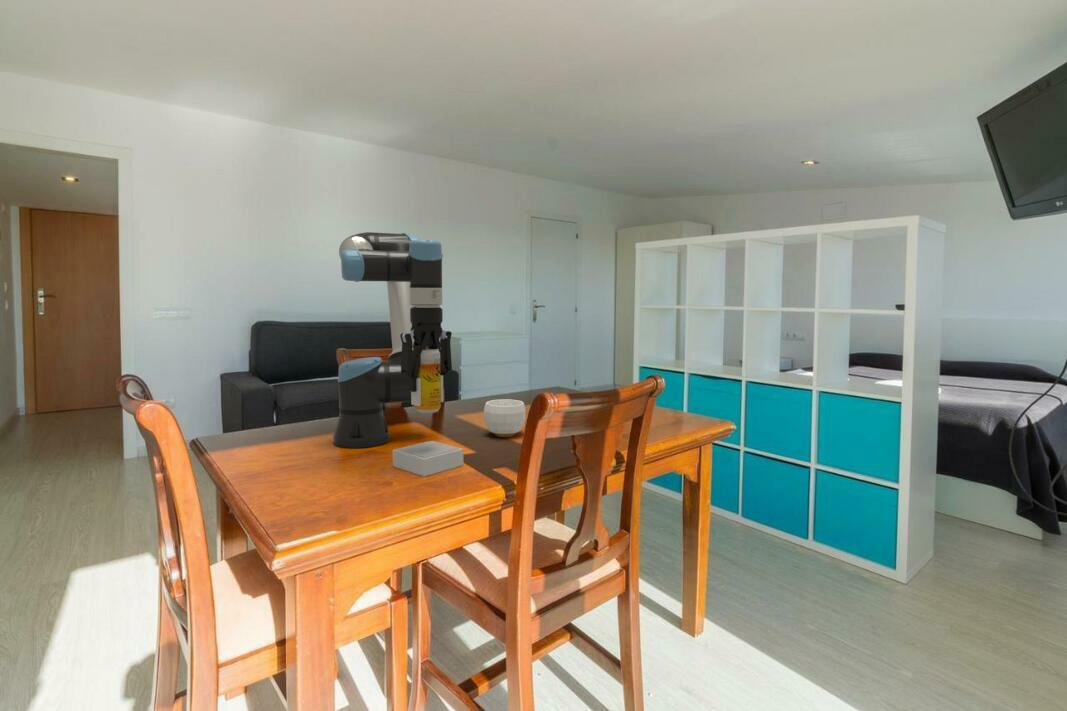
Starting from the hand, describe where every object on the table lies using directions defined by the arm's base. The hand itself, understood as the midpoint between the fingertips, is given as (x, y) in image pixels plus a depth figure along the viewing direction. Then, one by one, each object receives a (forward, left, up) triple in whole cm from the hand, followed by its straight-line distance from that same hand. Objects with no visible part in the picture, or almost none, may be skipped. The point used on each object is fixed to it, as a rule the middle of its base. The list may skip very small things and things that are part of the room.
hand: (427, 403), depth 139 cm
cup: (-8, +35, -16) cm, 39 cm away
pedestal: (0, 0, -15) cm, 15 cm away
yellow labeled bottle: (0, 0, -2) cm, 2 cm away
